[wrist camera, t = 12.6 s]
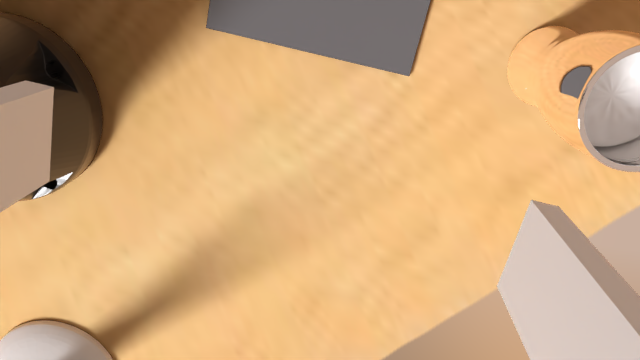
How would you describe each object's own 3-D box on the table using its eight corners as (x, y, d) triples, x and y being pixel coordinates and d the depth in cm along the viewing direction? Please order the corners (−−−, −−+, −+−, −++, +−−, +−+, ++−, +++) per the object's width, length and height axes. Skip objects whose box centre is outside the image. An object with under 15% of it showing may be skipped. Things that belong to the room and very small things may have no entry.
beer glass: (527, 5, 39) (620, 16, 25) (613, 39, 40) (752, 68, 26) (484, 93, 42) (548, 148, 28) (566, 125, 42) (670, 194, 28)
